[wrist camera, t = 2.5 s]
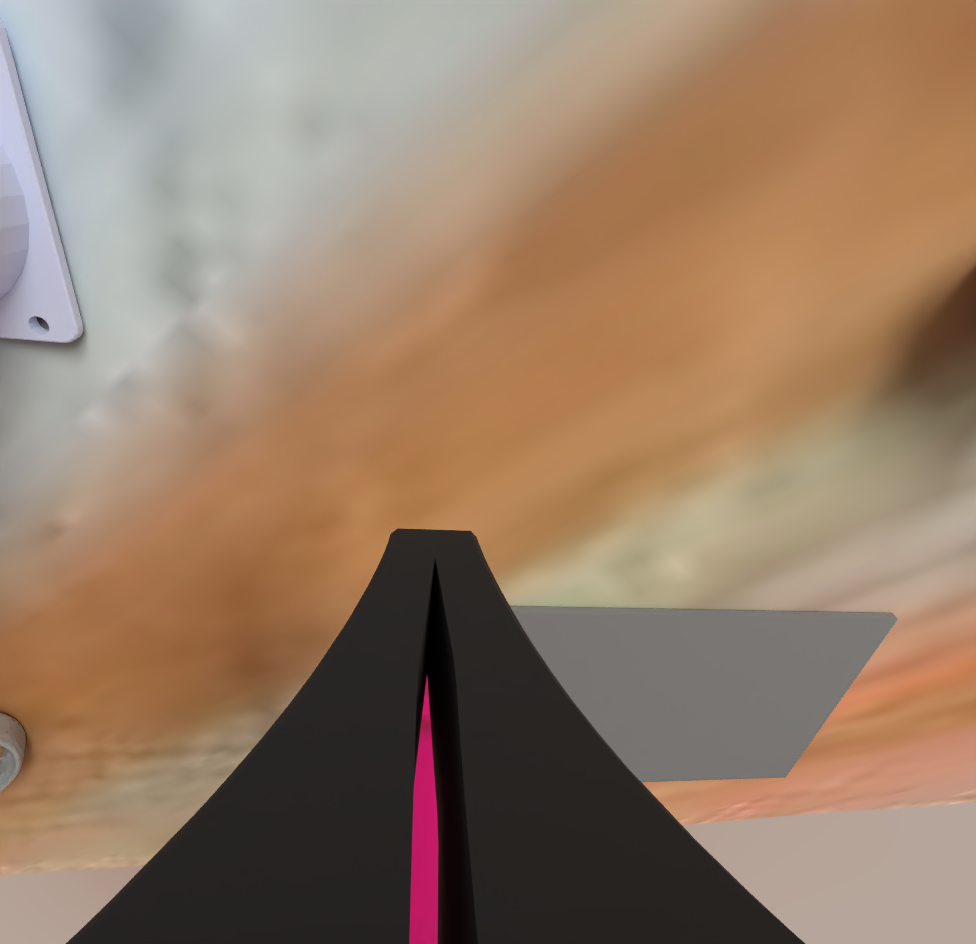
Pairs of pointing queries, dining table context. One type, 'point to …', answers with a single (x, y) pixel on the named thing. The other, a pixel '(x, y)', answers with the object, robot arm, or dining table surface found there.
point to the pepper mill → (424, 841)
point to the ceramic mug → (10, 749)
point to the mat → (704, 681)
